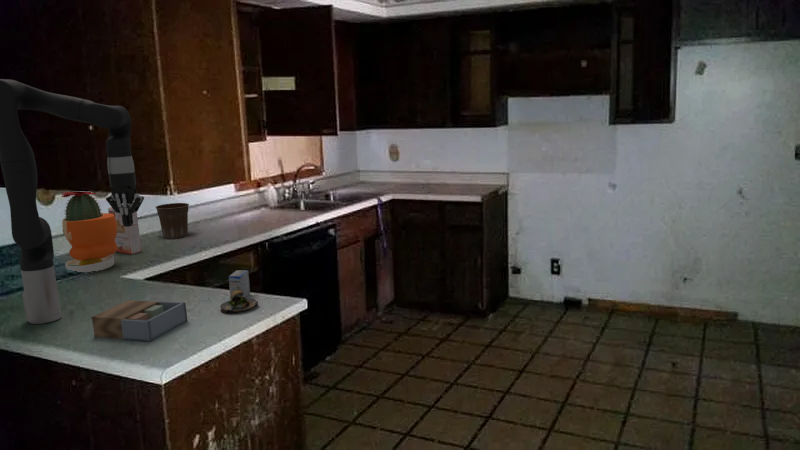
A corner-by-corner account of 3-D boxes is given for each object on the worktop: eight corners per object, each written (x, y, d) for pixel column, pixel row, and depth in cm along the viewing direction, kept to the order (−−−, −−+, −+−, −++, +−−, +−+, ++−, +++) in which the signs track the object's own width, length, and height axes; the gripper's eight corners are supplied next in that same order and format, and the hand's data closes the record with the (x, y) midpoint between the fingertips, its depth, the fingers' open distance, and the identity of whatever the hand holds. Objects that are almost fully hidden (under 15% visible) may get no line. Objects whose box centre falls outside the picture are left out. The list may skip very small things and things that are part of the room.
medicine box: (238, 294, 229) (235, 270, 227) (250, 293, 228) (248, 269, 227) (230, 301, 221) (228, 276, 219) (243, 300, 221) (240, 276, 219)
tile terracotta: (127, 318, 190) (136, 318, 189) (138, 312, 194) (147, 313, 193) (129, 334, 190) (138, 335, 190) (140, 328, 195) (149, 329, 194)
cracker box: (112, 251, 305) (107, 207, 301) (124, 249, 310) (119, 205, 306) (130, 254, 298) (124, 209, 293) (142, 252, 302) (136, 207, 298)
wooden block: (94, 336, 192) (91, 316, 191) (131, 318, 207) (128, 300, 206) (125, 338, 189) (123, 318, 188) (160, 320, 204) (158, 301, 203)
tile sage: (144, 310, 196) (152, 310, 196) (154, 305, 201) (163, 305, 200) (146, 326, 197) (154, 326, 197) (156, 320, 202) (165, 321, 201)
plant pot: (192, 237, 330) (189, 206, 327) (158, 241, 325) (154, 209, 322) (192, 232, 345) (188, 201, 342) (159, 235, 340) (156, 204, 337)
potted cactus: (55, 274, 268) (42, 189, 261) (89, 260, 289) (78, 182, 283) (103, 274, 264) (92, 188, 258) (134, 260, 286) (124, 181, 279)
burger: (222, 317, 205) (220, 294, 204) (218, 307, 216) (216, 285, 214) (261, 311, 209) (259, 289, 208) (255, 301, 220) (253, 280, 219)
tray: (123, 340, 188) (120, 320, 187) (162, 319, 205) (160, 300, 204) (149, 342, 185) (147, 321, 184) (187, 320, 202) (185, 302, 201)
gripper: (95, 172, 201) (102, 228, 204) (131, 172, 197) (138, 229, 200) (112, 170, 208) (119, 223, 211) (147, 169, 204) (153, 224, 207)
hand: (128, 226), depth 205 cm, fingers closed
